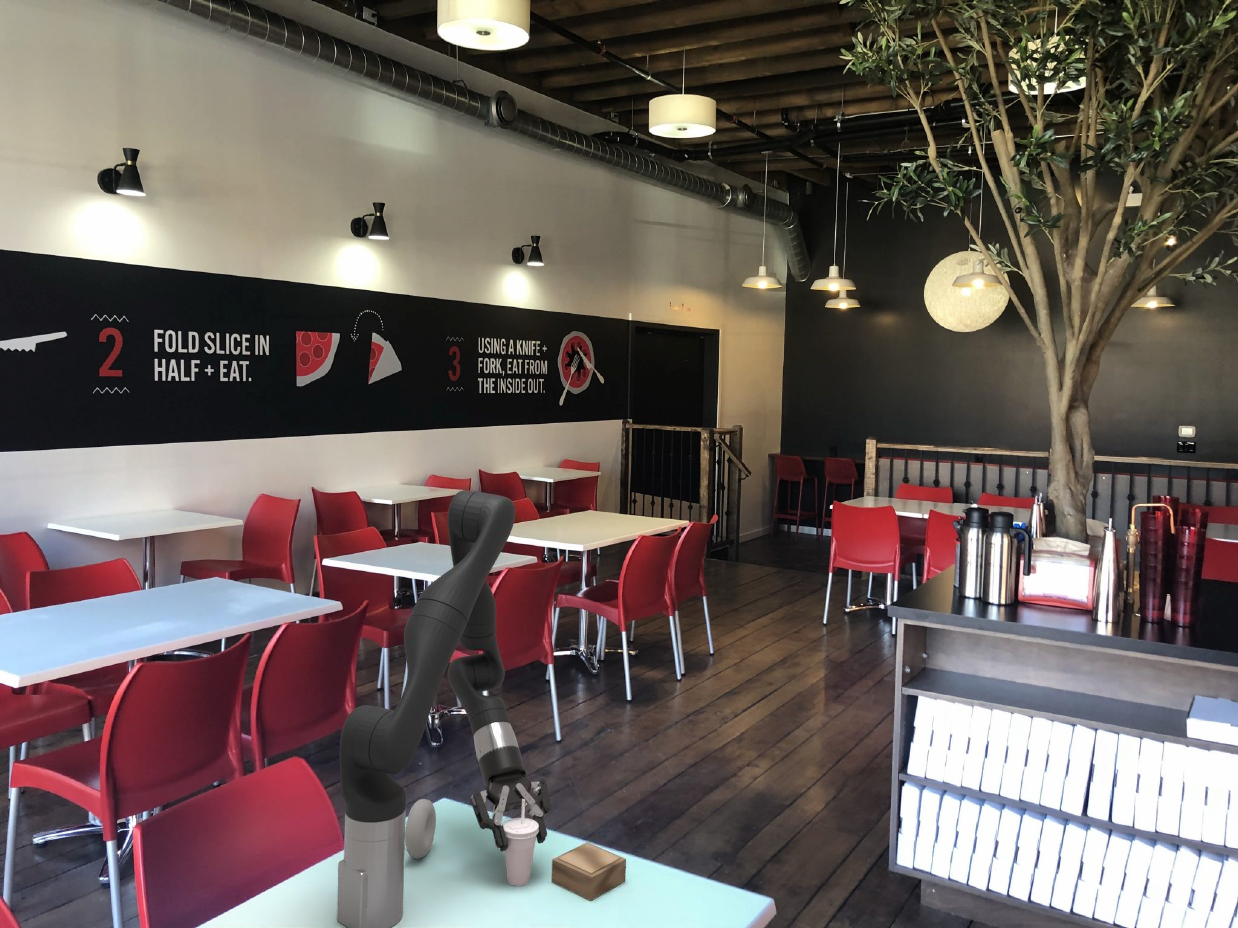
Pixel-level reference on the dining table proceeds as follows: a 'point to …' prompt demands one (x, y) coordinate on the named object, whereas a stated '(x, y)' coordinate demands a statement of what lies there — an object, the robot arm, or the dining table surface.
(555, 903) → the dining table surface
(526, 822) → the smoothie
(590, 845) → the base
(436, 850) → the dining table surface
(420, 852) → the donut
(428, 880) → the dining table surface
